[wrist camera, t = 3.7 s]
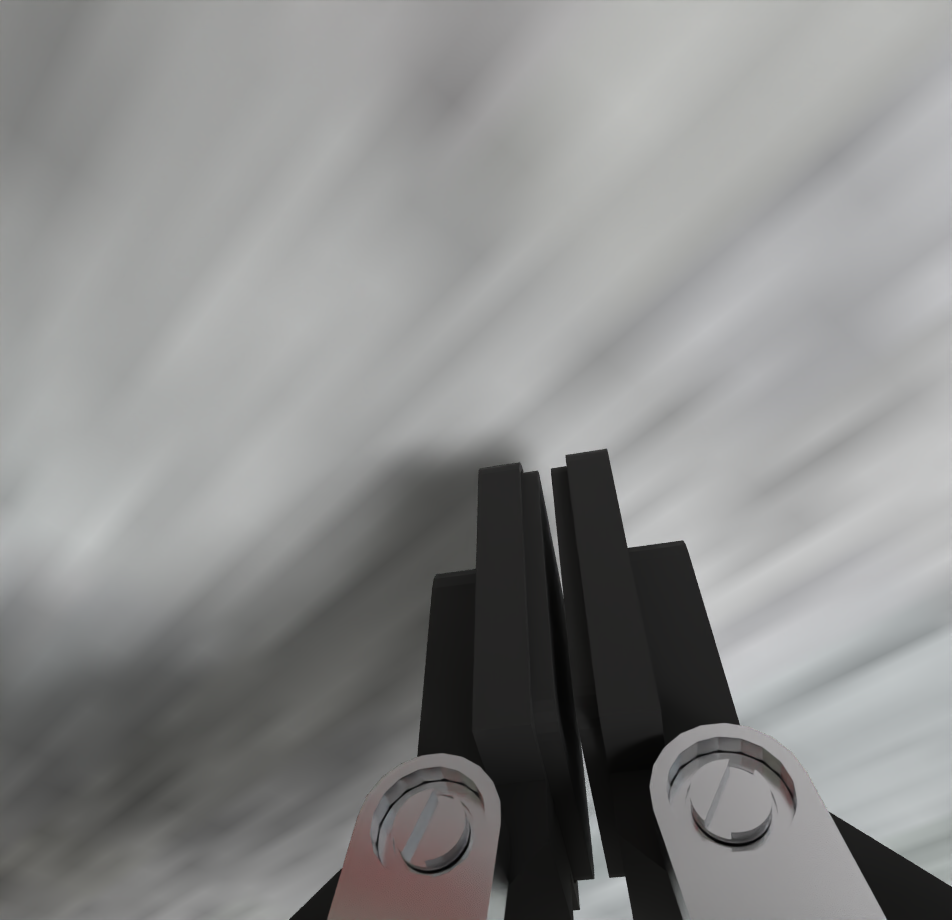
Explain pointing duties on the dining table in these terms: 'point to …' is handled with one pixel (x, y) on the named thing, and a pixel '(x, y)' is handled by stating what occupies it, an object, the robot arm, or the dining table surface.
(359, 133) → the dining table surface
